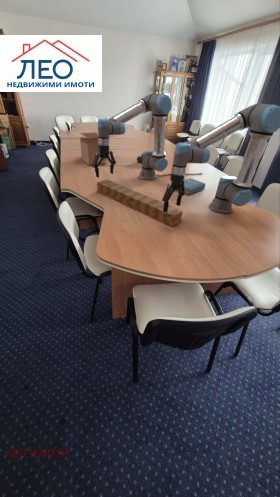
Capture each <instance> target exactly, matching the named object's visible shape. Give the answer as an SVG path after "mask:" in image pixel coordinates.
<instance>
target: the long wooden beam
mask: <svg viewBox="0 0 280 497" xmlns="http://www.w3.org/2000/svg"><path fill="white" fill-rule="evenodd" d="M96 188H97V192H98V193H100V194H102V195H104V196H107V197H109V198H110V199H113V200H115V201H117V202H118V203H121V204H123V205H125V206H127V207H129V208H132V209H134V210H136V211H138V212H140V213H143V214H145V215H146V216H148V217H151V218H152V219H155V220H157V221H159V222H161V223H163V224H165V225H168V226H170V227H173V226H176V225H177V224H178V223H180V222H181V221H182V216H183V210H182V209H179V208H177V207H175V206H173V205H170V204H169V205H168V211H167V212H164V211H163V208H164V201H160V200H158V199H155V198H153V197H152V196H148V195H146V194H144V193H141V192H139V191H137V190H134V189H131V188H129V187H126V186H124V185H121V184H119V183H117V182H114V181H112V180H110V179H108V178H107V179H102V180H100V181H96Z"/></svg>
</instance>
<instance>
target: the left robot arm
mask: <svg viewBox="0 0 280 497" xmlns="http://www.w3.org/2000/svg"><path fill="white" fill-rule="evenodd" d="M172 108H173V102H172V98H171V96H169V95H168V94H166V93H156V92H153V93H149V94H147V95H145V96H143V97H142V98H140V99H138V101H137V102H136V103H134V104H132V105H131V106H129V107H127V108H126V109H124V110H122V111H120V112H118V113H116V114H115V115H113V116H111V117H109V118H99V119H98V120H97V132H98V144H99V153H95V159H94V162H93V165H91V167H92V168H94V173H95V177H96V178H100V168H99V166H100V165H101V164H100V163H101V161H102V160H103V159H106V160H107V161H108V163H110V164H109V174H111V175H114V169H115V165H116V163H117V162H116V159H115V156H114V152H113V151H112V150H110V137H109V135H111V136H122V135H124V134H126V123H128V122H129V121H131V120H133V119H134V118H136V117H138V116H139V115H141V114H147V113H149V112H151V113H152V117H153V119H154V121H153V122H154V124H153V150H144V151H143V152H142V154H143V158H142V163H141V169H140V172H139V178H140V179H142V180H146V181H154V180H156V178H157V177H166V176H171V173H168V174H167V173H166V174H163V175H161V174H160V175H159V174H156V172H160V173H161V172H163V171H165V170H166V169H167V167H168V165H169V160H168V159H167V156H166V155H167V154H166V152H165V143H166V142H165V141H166V140H165V139H166V122H167V117H169V113H171V110H172ZM99 155H100V156H99ZM98 158H99V159H98ZM189 175H191V176H192V175H193V176H195V175H197V173H185V174H184V176H189ZM198 175H203V173H201V172H199V173H198Z"/></svg>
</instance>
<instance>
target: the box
mask: <svg viewBox="0 0 280 497" xmlns="http://www.w3.org/2000/svg"><path fill="white" fill-rule="evenodd" d="M70 133H71V134H72V135H74V136H75V137H77V138H79V144H80V153H81V160H83V162H85V163H86V165H87V166H92V165H93V162H94V159H95V153H99V144H98V131H97V132H96V131H95V130H92V129H91V130H77V132H76V131H70ZM113 137H114V135H109V138H113ZM99 156H100V155H99ZM98 159H99V158H98ZM106 160H107V159H103V160H102V161H101V163H100V165H106V163H107V162H106Z"/></svg>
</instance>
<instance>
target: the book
mask: <svg viewBox="0 0 280 497" xmlns="http://www.w3.org/2000/svg"><path fill="white" fill-rule="evenodd" d="M205 188H206V183H205V182H202V181H199V180H197V179H193V178H191V177H189V178H186V179H184V189H185V194H184V195H186V196H190V195H193V194H194V193H197V192H199V191H202V190H204V189H205ZM175 192H178V191H177V190H176V191H175Z"/></svg>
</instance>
